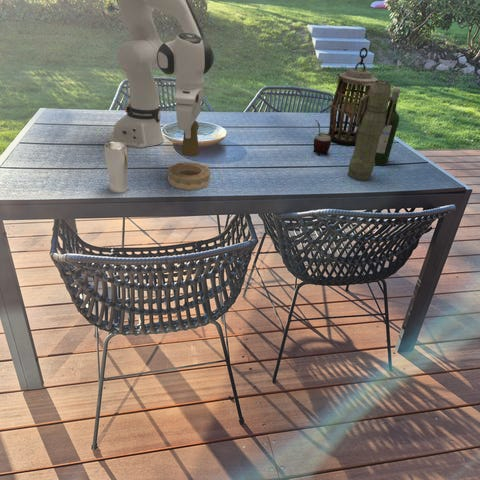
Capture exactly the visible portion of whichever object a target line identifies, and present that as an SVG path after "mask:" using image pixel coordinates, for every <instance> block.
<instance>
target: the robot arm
mask: <svg viewBox="0 0 480 480" xmlns="http://www.w3.org/2000/svg"><path fill="white" fill-rule="evenodd" d="M117 2H118V6H119V12H120V17H121V21H122V23H123V24H124V26H125V27H126V29H127V31H128V32H129V35H130V37H131V38H130V39H131V40H130V41H126V43H124V44H123V45H122V46H120V47H119V49H118V51H117V54H116V60H117V62H118V65H119V67H120V68H121V69H122V70H123V71H124V73H125V77H126V80H127V82H128V88H129V97H130V98H129V99H130V102H129V104H128V105H127V106H126V108H125V110H124V112H125V113H126V114H125V115H124V116H123V117H121V118H120V119H119V120H117V121H116V123H115V124H114V126H113V132H111V133H110V134H109V135H108V137H107V142H108V143H109V142H122V143H125V144H126V147H127V146H128V147H132V148H139V149H143V148H146V147H151V146H157V145H160V144H162V143H163V142H164V141H165V139H164V136H163V133H162V128H161V127H162V126H161V105H160V99H159V97H160V96H159V95H160V94H159V92H160V90H159V86H158V84H157V83H156V81H155V79H154V74H153V68H156V67H158V68H159V69H160V70H161V72H163V74H165V75H169V76H175V93H174V95H173V102H174V103H175V104H176V105H175V106H176V107H175V111H176V112H175V113H176V121H177V123H176V124H177V128H178V129H179V130H183V131H185V138H191V127H192V125H193V123H194V122H195V121H196V122H197V119H198V117H199V116H200V114H201V110H202V109H201V108H202V103H201V101H202V100H204V98H205V79H204V78H205V77H204V75H206V74H207V73H208V72H209V71H210V69H211V68H212V67H213V64H214V61H215V57H214V51H213V49H212V47H211V44H210V43H209V42H208V41H207V39H206V37H205V35H204V33H203V31H202V29H201V26H200V24H199V22H198V20H197V18H196V14H195V13H194V11H193V8H192V6H191V4H190V2H189V0H117ZM152 8H153V9H155V10H158V11H159V10H160V11H162V12H164V13H167V14H168V15H170V16H172V17H173V18H175V20H177V22H178V23H179V24H180V28H181V30H182V31H183V32H182V33H179V34H178V35H176V37H175V39H173V40H171V41H167V42H163V41H162V40H161V39H160V35H159V34H158V31H157V29H156V26H155V22H154V17H153V12H152Z"/></svg>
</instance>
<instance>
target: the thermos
mask: <svg viewBox="0 0 480 480" xmlns="http://www.w3.org/2000/svg"><path fill="white" fill-rule="evenodd" d="M391 85H392V84H391V83H390V82H388V81H384V80H378V81H375V82H373V83H372V85H371V86H370V88H369V90H368V94H367V95H364V94H363V97H362V98H361V99H360V104H359V108H358V113H357V117H356V124H358V125H359V126H358V136H357V140H356V145H355V146H354V150H353V154H352V155H351V157H350V160H349V165H348V172H347V176H348V177H349V178H350V179H352V180H355V181H359V182H367V180H368V181H370V180H369V179H371V177H372V176H371V175H372V173H373V172H374V171H373V170H374V167H375V165H374V164H375V159H374V158H375V154H376V150H377V147H378V143H379V139H380V136H381V135H382V133H383V129H384V128H385V127H388V124H389V121H390V117H391V114H392V110H393V106H394V103H395V101H394V99H393V97H391V95H392V86H391ZM366 98H367V99H366ZM365 99H366V106H365V108H364V111H363V113H362V109H363V105H364V101H365ZM389 102H390V105H389ZM388 105H389V109H388V113H387V117H386V110H387V108H388ZM361 113H362V115H361Z"/></svg>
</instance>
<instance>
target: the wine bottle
mask: <svg viewBox="0 0 480 480" xmlns="http://www.w3.org/2000/svg"><path fill="white" fill-rule="evenodd" d="M400 94H401V88H400V87H393V89H392V90H391V95H390V97H393V99H394V101H395V103H394V106H393V110H392V114H391V117H390V121H389V124H388V127H385V128H384V129H383V133H382V135H381V136H380V139H379V143H378V147H377V150H376V154H375V158H374V159H375V165H374V166H377V165H384V166H386V165H387V164H388V162H389V158H390V155H391V151H392V147H393V144H394V140H395V136H396V133H397V129H398V126H399V122H400V116H399V114H398V113H397V109H396V108H397V105H398V100H399V96H400ZM389 105H390V101H389V103H388V107H387V108H386V117H387V113H388V109H389Z"/></svg>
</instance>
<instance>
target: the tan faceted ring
mask: <svg viewBox="0 0 480 480" xmlns="http://www.w3.org/2000/svg"><path fill="white" fill-rule="evenodd" d="M167 178H168V179H167V180H168V181H167V182H169V184H170V185H171V186H172V187H174V188H177V189H179V190H185V191H195V190H202V189H203V188H206V187H208V186H209V184H210V181H211V169H210V168H209V167H208V166H207V165H206V164H205V165H204V164H202V163H199V162H192V161H185V162H184V161H182V162H177V163H174V164H172V165H171V166H170V167H169V168H168V169H167Z"/></svg>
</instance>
